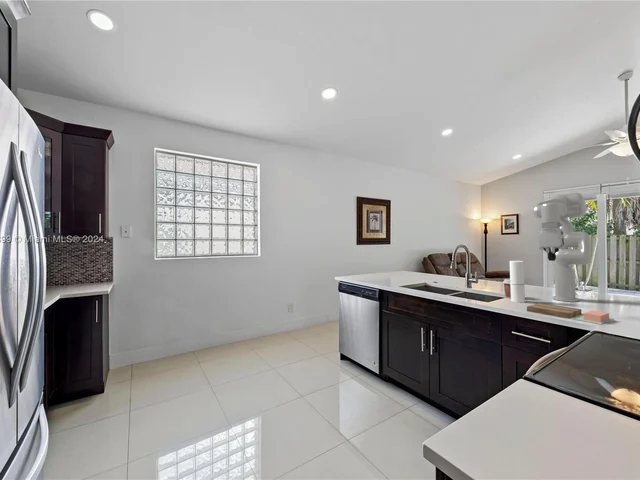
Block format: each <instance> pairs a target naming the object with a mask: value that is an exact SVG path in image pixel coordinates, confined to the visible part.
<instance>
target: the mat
mask: <svg viewBox="0 0 640 480" xmlns="http://www.w3.org/2000/svg"><path fill="white" fill-rule="evenodd" d="M569 319H570V320H574V321H581V322H586V323H591V324H596V325H604V324H605V323H608V322H610V321H613V320H615V318H613V317H609V320H607V321H604V322H601V323H600V322H595V321H589V320H584V313H582V314H581V315H578V316H575V317H572V318H569Z"/></svg>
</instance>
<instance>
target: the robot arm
mask: <svg viewBox="0 0 640 480" xmlns="http://www.w3.org/2000/svg"><path fill="white" fill-rule="evenodd" d="M586 205H587V204H586V201H585V199H584V196H583V195H582V194H581V193H579V192H574V193H573V192H571V193H570V192H569V193H564V194H563V193H562V194H557V195H555V196H553V198H551V199H547V200H544V201H541V202H537V203H536V204H535V205H534V207H533V210H532V213H533V215H534V217H535V218H537V219H541V229H540V231H539V235H538V246H539V247H538V248H539V250H542V251H544V252H545V253H546V254H547V260H548V261H549V262H550V261H551V262H552V263H553V268H554V269H553V271H554V290H555V291H554V293H555V295H554V296H552V298H551V299H552V300H556V301H560V302H579V301H580V299H579V297H577V293H576V276H575V275H576V272H575V270H574V269H573V268H572V266H571V265H576V266H577V265H580V266H583V265H586V266H587V265H588V264H589V263H590V262H591V239H590V235H589V233H587V232H585V231H574V224H573V223H572V222H571V221H570V220H569V219H567V218H579V217H584V216H585V215H586V214H587V209H588V208H587V206H586Z"/></svg>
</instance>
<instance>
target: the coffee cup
mask: <svg viewBox="0 0 640 480" xmlns="http://www.w3.org/2000/svg"><path fill="white" fill-rule="evenodd" d="M502 284H503V289H504V295H505V296H504V297H505V298H506V299H510V300H511V286H510V278H504V281H502Z"/></svg>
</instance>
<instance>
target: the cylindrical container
mask: <svg viewBox="0 0 640 480" xmlns="http://www.w3.org/2000/svg"><path fill="white" fill-rule="evenodd" d="M524 265H525V263H524V261H523V260H509V279H510V286H511V299H510V301H511V302H512V303H520V304H521V303H526V295H525V294H526V292H525V291H526V290H525V288H526V287H525V268H524V267H525V266H524Z"/></svg>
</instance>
